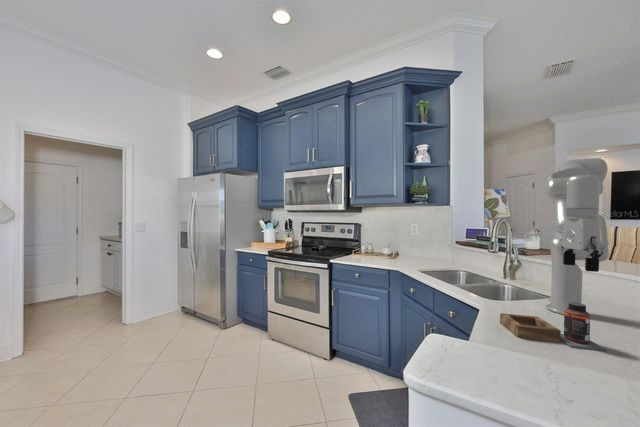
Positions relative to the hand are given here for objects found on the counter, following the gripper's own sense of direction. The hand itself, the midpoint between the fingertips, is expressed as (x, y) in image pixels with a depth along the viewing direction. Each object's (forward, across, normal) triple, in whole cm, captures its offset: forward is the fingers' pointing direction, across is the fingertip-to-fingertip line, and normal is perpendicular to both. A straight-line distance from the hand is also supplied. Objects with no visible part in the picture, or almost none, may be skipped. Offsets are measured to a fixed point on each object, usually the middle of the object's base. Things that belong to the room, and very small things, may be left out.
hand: (579, 267), depth 87 cm
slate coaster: (+23, +3, -2) cm, 23 cm away
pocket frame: (+23, -2, -13) cm, 26 cm away
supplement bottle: (+22, +3, -2) cm, 23 cm away
